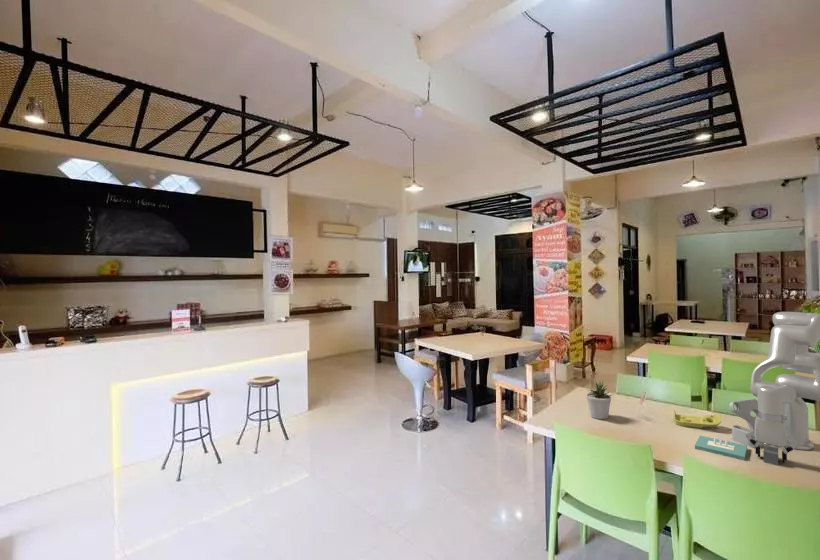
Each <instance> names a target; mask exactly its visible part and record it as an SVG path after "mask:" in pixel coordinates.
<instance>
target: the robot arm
mask: <svg viewBox="0 0 820 560" xmlns="http://www.w3.org/2000/svg"><path fill="white" fill-rule="evenodd" d="M772 323H773V325H774V326H773V327H772V328H771V331H770V339H769V345H768V352H767V356H766V358H765V359H764V360H763V361H761V362H759V363H758V364H756V366H755V367H754V368H753V370H752V373H751V376H750V377H751V379H750V385H749V389H750V390H749V391H750V393H751V394H752V395H753V396H754V397H756V398H757V401H758V416H756V419H755V427H754V431H752V432H750V433H748V434H746V435H745V436H746V437H747V439H748V440H749V441H750V442H751V443H752V444H753V445H754V446H755V448H754V449H755V454H756V455H757V457H758V458H761V447H760V446H759V445H760V444H761V442H762V443H767V444H772V445H771V446H775V447H776V446H777V447H780V448H781V462H782V463H784V464H785V462H786V461H788V459H787V458H788V454H789V452H790V453H791V452H792V451H793V450H801V451H802V450H803V451H811V450H814V448H815V446H814V444H813V443H812V442H810V437H809V436H810V435H809V434H810V433H809V432H810V431H809V430H810V429H809V407H808V405H807V404H806V402H805V400H804V399H808V400H812V401H818V402H820V353H818V352H809V347H814V346H816V345H818V343H819V341H820V313H817V312H816V313H815V312H801V311H800V312H798V311H778V312H775V313H774V314H772ZM778 367H782V368H783V369H784V370H786V371H789V372H795V373H801V374H808V375H813V376H815V377H810V376H803V375H799V374H792V373H781V374H779V375H777V376H776V377H775V381H774V382H773V381H772V382H771V381H766V380H762V378H763V375H764V374H765V373H766V372H767V371H769V370H771V369H774V368H778ZM753 435H754V437H755V440H756V441H755V440H754V439H752V438H751V436H753Z"/></svg>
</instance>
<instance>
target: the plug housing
mask: <svg viewBox="0 0 820 560" xmlns="http://www.w3.org/2000/svg"><path fill="white" fill-rule="evenodd" d="M762 454H763V463H766V464H771V465H774V466H779V447H778V446H777V447H776V446H773V445H764V446H763V453H762Z"/></svg>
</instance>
